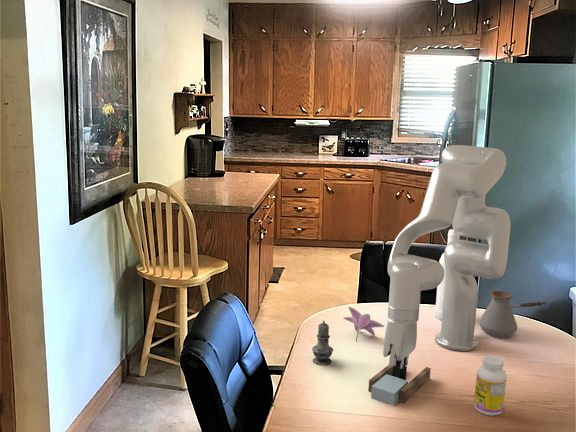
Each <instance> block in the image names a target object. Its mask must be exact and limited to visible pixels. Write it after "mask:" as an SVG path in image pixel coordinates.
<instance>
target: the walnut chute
mask: <svg viewBox="0 0 576 432" xmlns="http://www.w3.org/2000/svg"><path fill="white" fill-rule="evenodd" d="M392 368H393V366H392V365H389V364H387V365H386V366H385V367H384V368H382V369H381V370H380V371H379V372H377V373H376V374H375V375H373V377H371V378H369V380H368V390H367V391H368V392H369V393H371V390H372V386H373V385H374V384H375V383H376V382H377V381H379V380H380V379H381V378H382V377H383V376H385V375H386V374H387V375H391V376H392ZM430 379H431V368H430V367H428V366H425V368H424V369H422V370H421V371H420V372H419V373H418V374H416V376H414V377H413V378H412V379H411V380H410V381H408V384H407V385H405V386H404V387H403V388H402V389H401V390H400V397H399V401H398V403H402V404H404V403H406V402H407V401H408V400H409V399H410V398H411V397H412V396H414V395H415V394H416V393H417V391H419V390H420V389H421V388H422V387H423V386H424V385H425V384H426V383H427V382H428V381H429V380H430Z"/></svg>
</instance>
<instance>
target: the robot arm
mask: <svg viewBox="0 0 576 432" xmlns="http://www.w3.org/2000/svg"><path fill="white" fill-rule="evenodd" d="M441 162H442V163H439V164H437V165H436V166H434V168H433V170H432V172H431V176H430V178H429V182H428V185H427V189H426V193H425V194H424V195H425V196H424V198H423V203H422V206H421V209H420V213H419V215H418V216H417V217H416V218H414V219H412V221H410V222H409V223H408V224H407V225H406V226H404V228H403V229H402V230H401V231H400V232H399V233H398V235H397V236H396V237H395V240H394V242H393V244H392V246H391V247H392V248H391V251H390V254H389V258H388V262H387V274H388V276H389V277H390V279H389V280H390V281H389V282H390V283H389V294H388V309H387V317H388V320H387V323H386V328H385V333H384V341H383V350H382V354H383V357H384V358H387V357H389V359H388V365H392V366H393V368H392V376H394V377H397V378H400V379H403V380H407V374H408V373H407V371H408V370H407V369H408V364H409V357H410V355H411V353H413V352H414V351H415V350H416V346H417V340H418V339H417V335H418V321H419V317H420V304H421V292H422V291H429V290H433V289H437V286H439V285H440V283H441V282H442V280H443V278H444V268H443V266H442V265H441V264H440V263H439V261H437V260H435V259H431V258H428V257H427V258H426V257H422V256H418V255H413V254H409V253H408V252H409V251H410V250H409V249H410V247H411V245H412V244H414V242H415V241H416V240H417V239H419V238H421V237H422V236H424V235H426V234H430V233H433V232H436V231H441V230H445V229H448V228H449V227H452V229H453V230H454V232H455V233H456V234H458V235H460V237H466V238H471V239H477V240H481V241H487V243H488V244H486V243H482V242H477V241H470V240H466V239H459V240H454V241H451V242H450V243H448V242H447V244H446V246H445V248H444V252H443V253H444V262H445V292H444V303H443V315H442V321H441V329H440V332H438V333H436V334H435V338H434V339H435V341H434V342H436V344H438V345H439V346H441V347H443V348H445V349H448V350H452V351H456V352H457V351H458V352H469V351H473V350H475V349H477V348H478V347H479V344H480V342H479V340H478V339H477V338H476V337H475V327H476V315H477V306H478V296H479V286H478V283H477V280H476V279H475V277H479V278H484V279H489V280H499V279H501V278H502V277H503V276H504V274H505V272H506V268H507V264H508V257H509V256H508V255H509V246H510V245H509V243H510V235H511V218H510V215H509V213H508V212H507V211H506V210H505V209H502V208H499V207H492V206H487V205H486V195H487V193H488V192H490V190H491V189H492V188H493V186H495V185H496V183H497V182H498V181H499V180H500V179H501V178H502V176H503V174H504V172H505V170H506V166H507V157H506V154H505V152H503V150H501V149H500V148H495V147H486V146H485V147H484V146H475V145H465V144H464V145H463V144H453V145H448V146H446V147H444V148H443V150H442V152H441ZM474 276H475V277H474Z"/></svg>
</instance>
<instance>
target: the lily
mask: <svg viewBox="0 0 576 432" xmlns="http://www.w3.org/2000/svg"><path fill="white" fill-rule="evenodd" d="M348 310H349V311H350V315H351V316H346V317H343V320H346V321H348V322H350V323H352V324H353V325H354V330H355V331H357V333H356V337H355V343H357V341H358V337H359V332H360V331H361V330H365V331H366V332H368V333H370V334H371V335H372V336H375V335H376V334H375V331H374V328H385V325H384V324H382V323H380V322H379V321H376V320H374V319H371V316H370V314H369V313H365V314H361V312H359V311H358V310H356V309H355V308H353V307H351V306H348Z"/></svg>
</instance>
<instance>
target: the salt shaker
mask: <svg viewBox="0 0 576 432" xmlns="http://www.w3.org/2000/svg"><path fill="white" fill-rule="evenodd" d="M329 328H330V325H329V324H328V323H326V321H325V320H323V321H322V322H321V323H319V324H318V329H317V330H318V331H317V333H318V334H317V335H316V338H317V343H316V345H314V346H312V347H311V351H312V353H313V356H314V357H313V359H312V362H313V364H315V365H316V366H329V365H331V364H332V359H331V358H330V357H331V356H332V354H333V352H334V348H333V347H332V346H331V345H329V340H330V337H331V335H330V334H329V333H330V332H329V331H330V329H329Z"/></svg>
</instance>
